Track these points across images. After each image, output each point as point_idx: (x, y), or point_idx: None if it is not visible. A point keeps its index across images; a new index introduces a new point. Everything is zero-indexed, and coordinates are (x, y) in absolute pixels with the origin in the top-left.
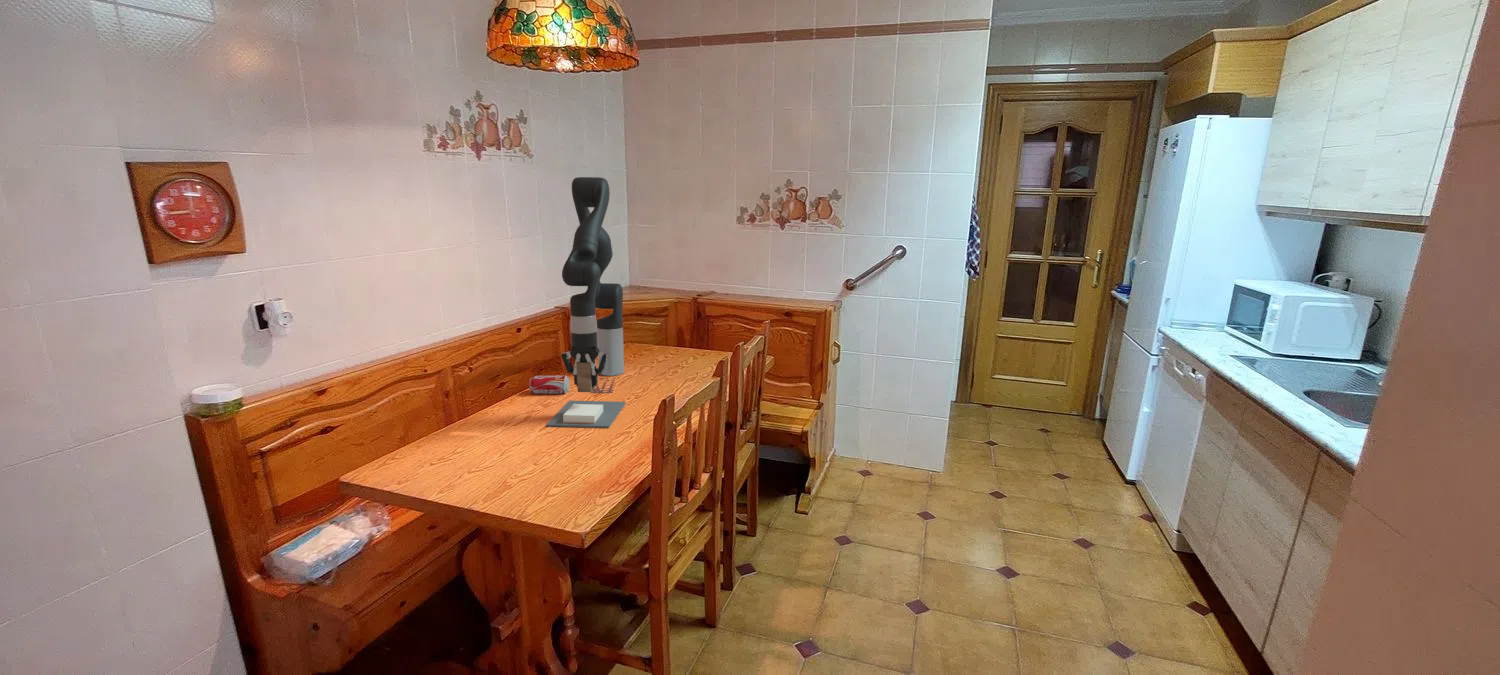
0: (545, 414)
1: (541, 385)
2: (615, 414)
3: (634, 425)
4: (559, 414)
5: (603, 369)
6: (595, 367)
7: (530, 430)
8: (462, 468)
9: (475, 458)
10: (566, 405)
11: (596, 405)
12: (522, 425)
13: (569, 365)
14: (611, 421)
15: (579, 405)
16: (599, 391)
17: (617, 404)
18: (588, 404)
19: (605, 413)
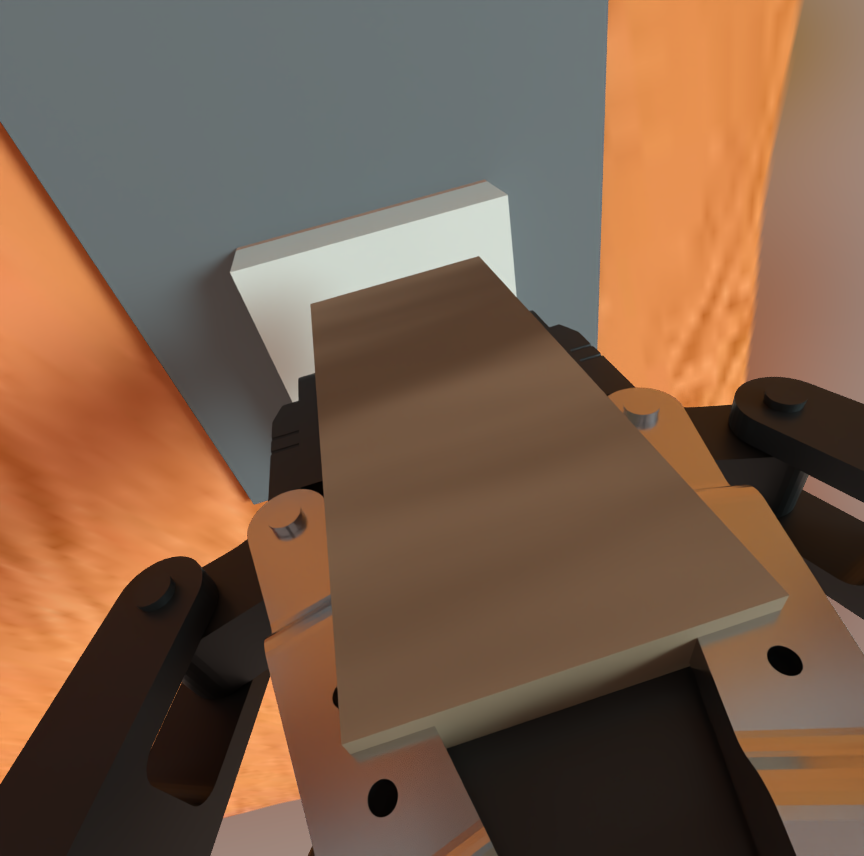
0: (36, 341)
1: None
2: (592, 202)
3: (719, 311)
4: (183, 349)
5: (818, 412)
6: (693, 486)
7: (219, 551)
8: (281, 745)
9: (257, 719)
10: (2, 89)
11: (458, 238)
12: (109, 529)
13: (228, 772)
14: (595, 337)
15: (312, 290)
16: None
17: None
18: (375, 238)
19: (512, 206)
